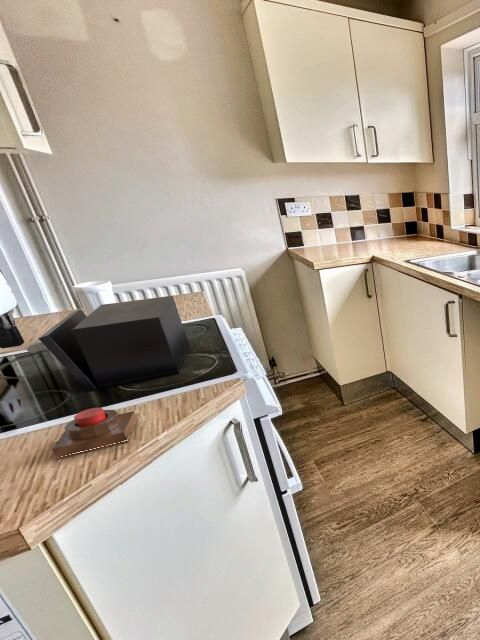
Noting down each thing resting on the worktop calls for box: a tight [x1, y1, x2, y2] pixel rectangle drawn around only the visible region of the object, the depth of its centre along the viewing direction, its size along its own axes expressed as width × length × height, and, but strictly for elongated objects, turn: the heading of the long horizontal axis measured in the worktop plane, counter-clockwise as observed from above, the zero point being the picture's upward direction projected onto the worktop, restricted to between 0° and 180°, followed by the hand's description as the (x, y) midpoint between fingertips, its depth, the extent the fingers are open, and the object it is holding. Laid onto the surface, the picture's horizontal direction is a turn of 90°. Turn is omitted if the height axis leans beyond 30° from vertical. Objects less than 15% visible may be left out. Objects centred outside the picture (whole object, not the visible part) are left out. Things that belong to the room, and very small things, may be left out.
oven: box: [73, 295, 190, 391], centre depth 99 cm, size 14×20×14 cm
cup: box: [72, 280, 117, 316], centre depth 122 cm, size 8×8×14 cm
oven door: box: [26, 308, 99, 393], centre depth 94 cm, size 5×20×14 cm, turn 30°
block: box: [51, 409, 139, 461], centre depth 73 cm, size 9×8×4 cm
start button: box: [73, 407, 107, 427], centre depth 72 cm, size 4×4×2 cm
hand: (13, 345), depth 89 cm, fingers closed
